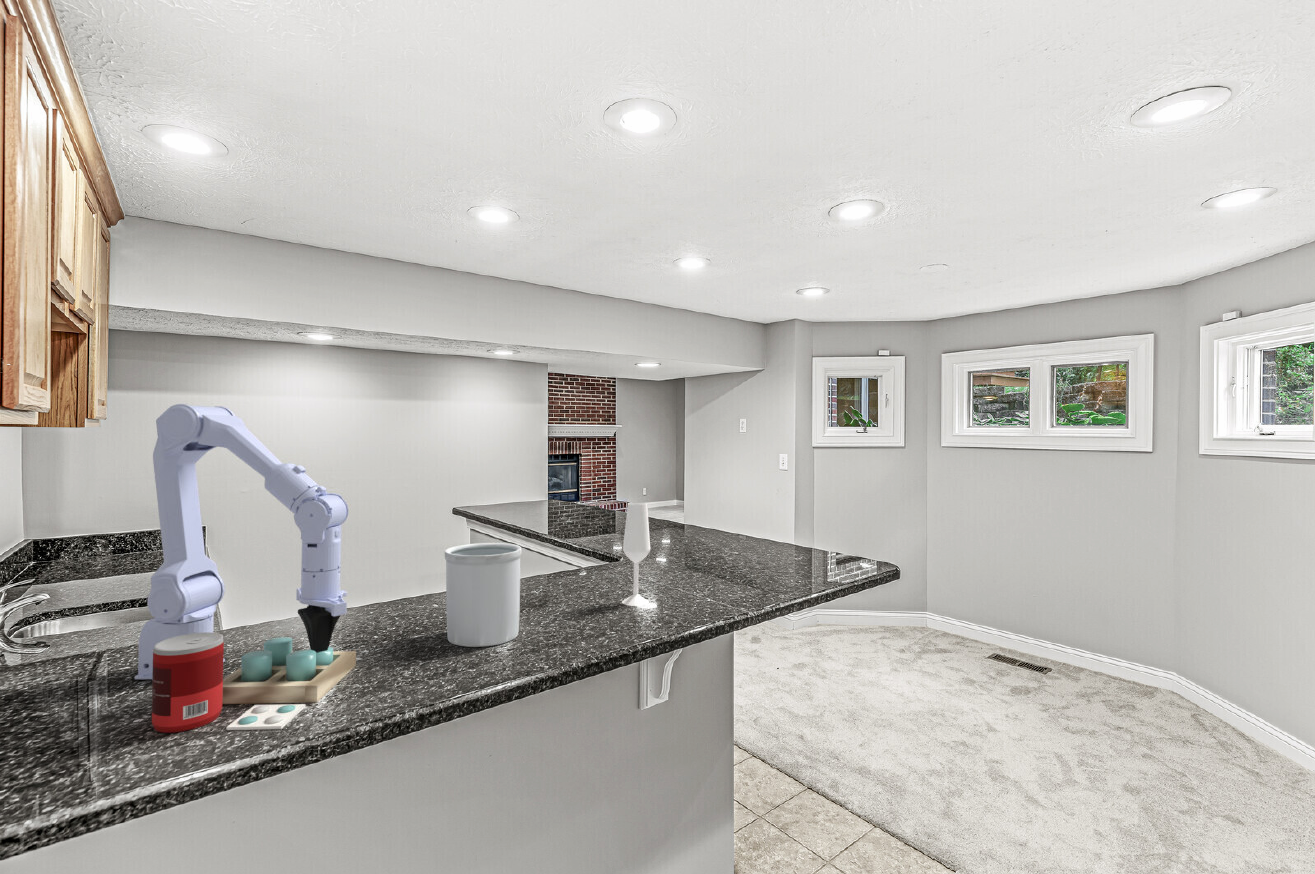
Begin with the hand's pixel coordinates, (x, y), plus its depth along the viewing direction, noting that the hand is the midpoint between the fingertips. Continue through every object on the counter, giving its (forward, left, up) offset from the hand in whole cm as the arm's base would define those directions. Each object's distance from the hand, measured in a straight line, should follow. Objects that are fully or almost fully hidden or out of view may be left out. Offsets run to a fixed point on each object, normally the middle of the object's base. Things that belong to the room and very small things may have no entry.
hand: (319, 650), depth 104 cm
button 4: (0, 0, -3) cm, 3 cm away
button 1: (-7, -7, -2) cm, 9 cm away
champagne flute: (+55, +45, -4) cm, 71 cm away
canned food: (-11, -16, -4) cm, 20 cm away
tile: (0, -16, -4) cm, 16 cm away
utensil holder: (+23, +20, -4) cm, 30 cm away
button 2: (-7, 0, -2) cm, 7 cm away
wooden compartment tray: (-3, -3, -4) cm, 6 cm away
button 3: (0, -7, -2) cm, 7 cm away
